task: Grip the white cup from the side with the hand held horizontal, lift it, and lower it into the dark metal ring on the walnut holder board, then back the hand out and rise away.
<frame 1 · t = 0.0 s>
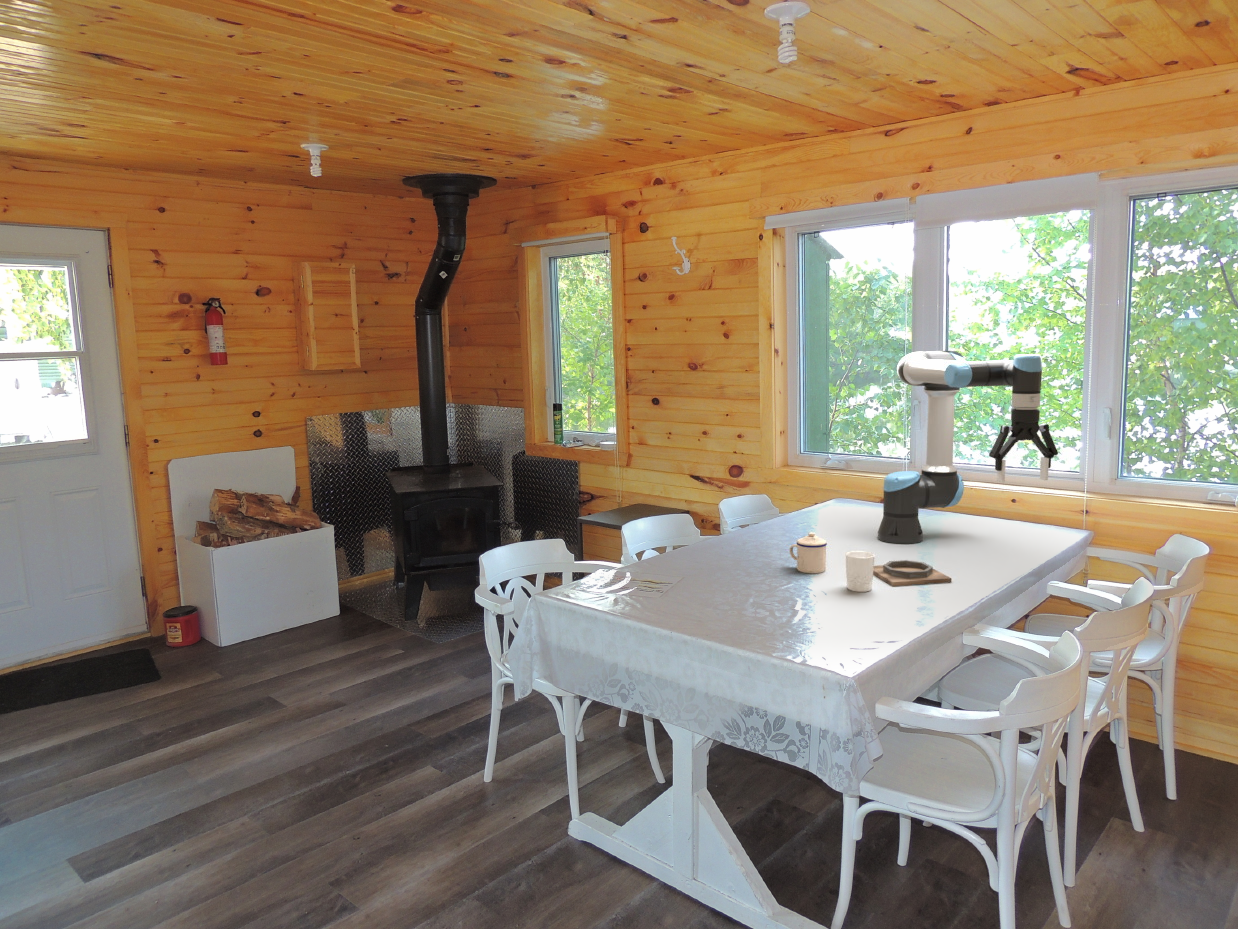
hand: (1022, 480, 260), 28 cm above the table, tool pointing down, fingers open, 13 cm apart
white cup: (859, 589, 253), on the table
ring holder: (907, 575, 265), on the table
teacup with lid: (807, 569, 275), on the table
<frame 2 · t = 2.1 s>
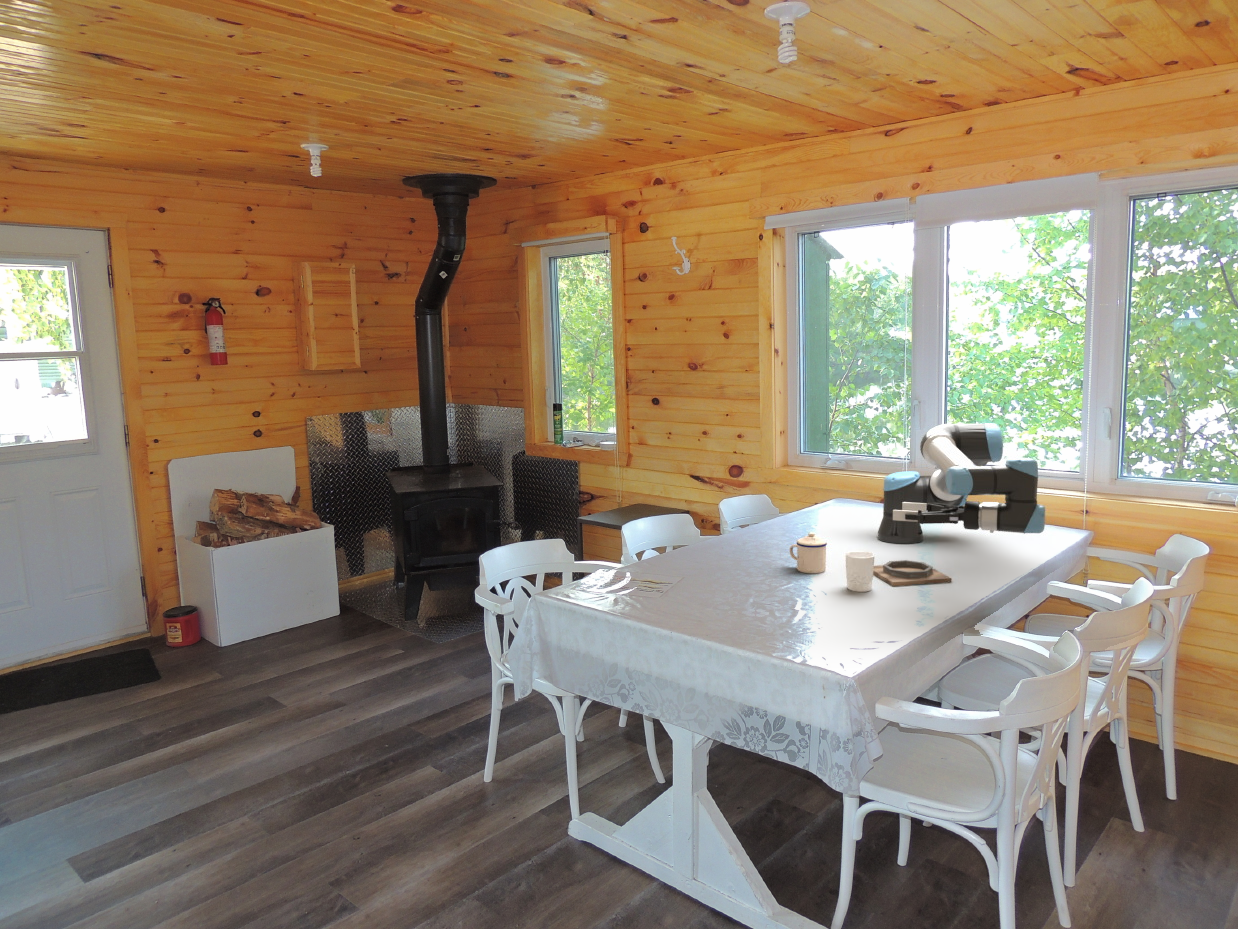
hand: (897, 510, 246), 23 cm above the table, tool horizontal, fingers open, 13 cm apart
nothing on the table moved.
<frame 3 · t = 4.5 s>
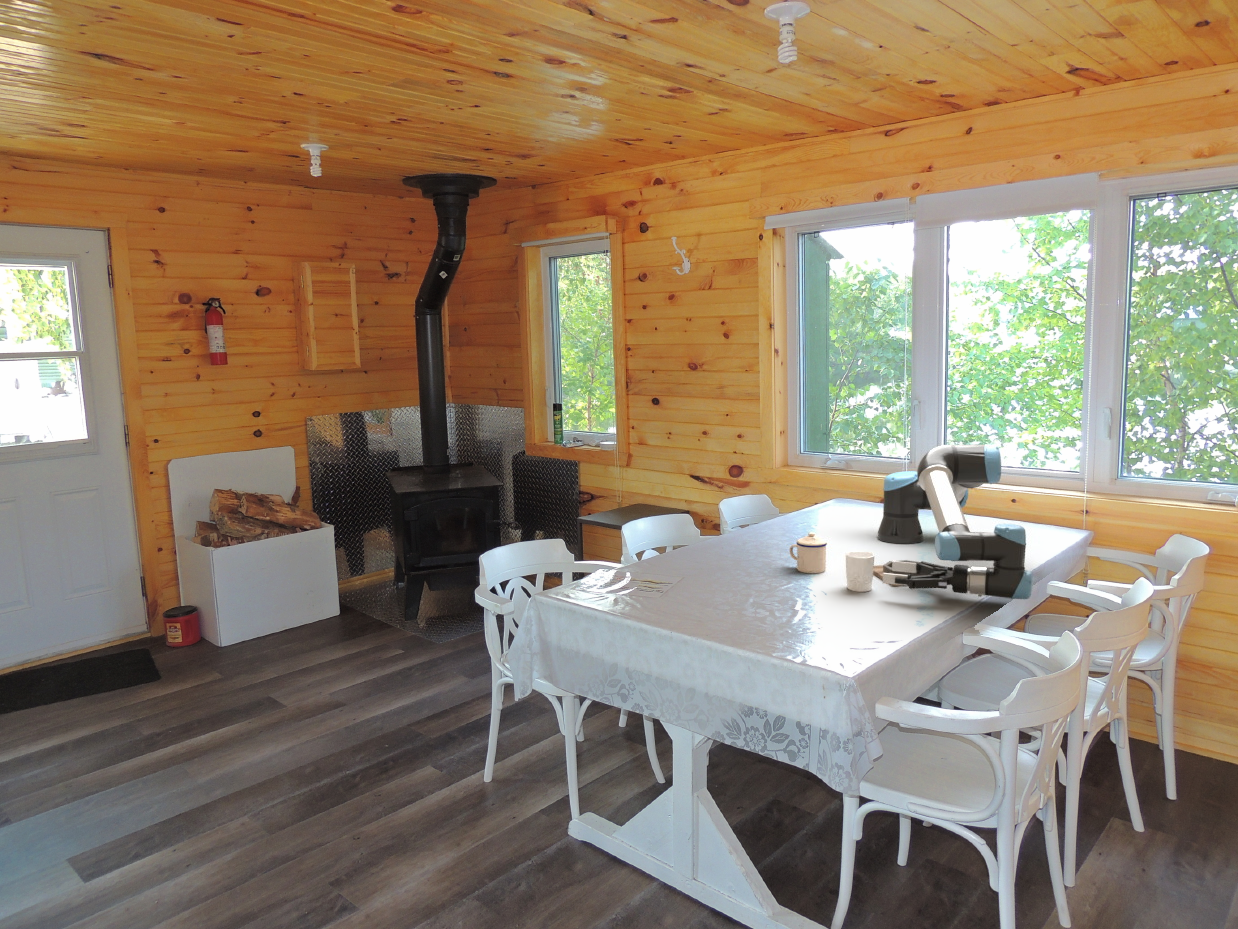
hand: (887, 571, 249), 6 cm above the table, tool horizontal, fingers open, 13 cm apart
nothing on the table moved.
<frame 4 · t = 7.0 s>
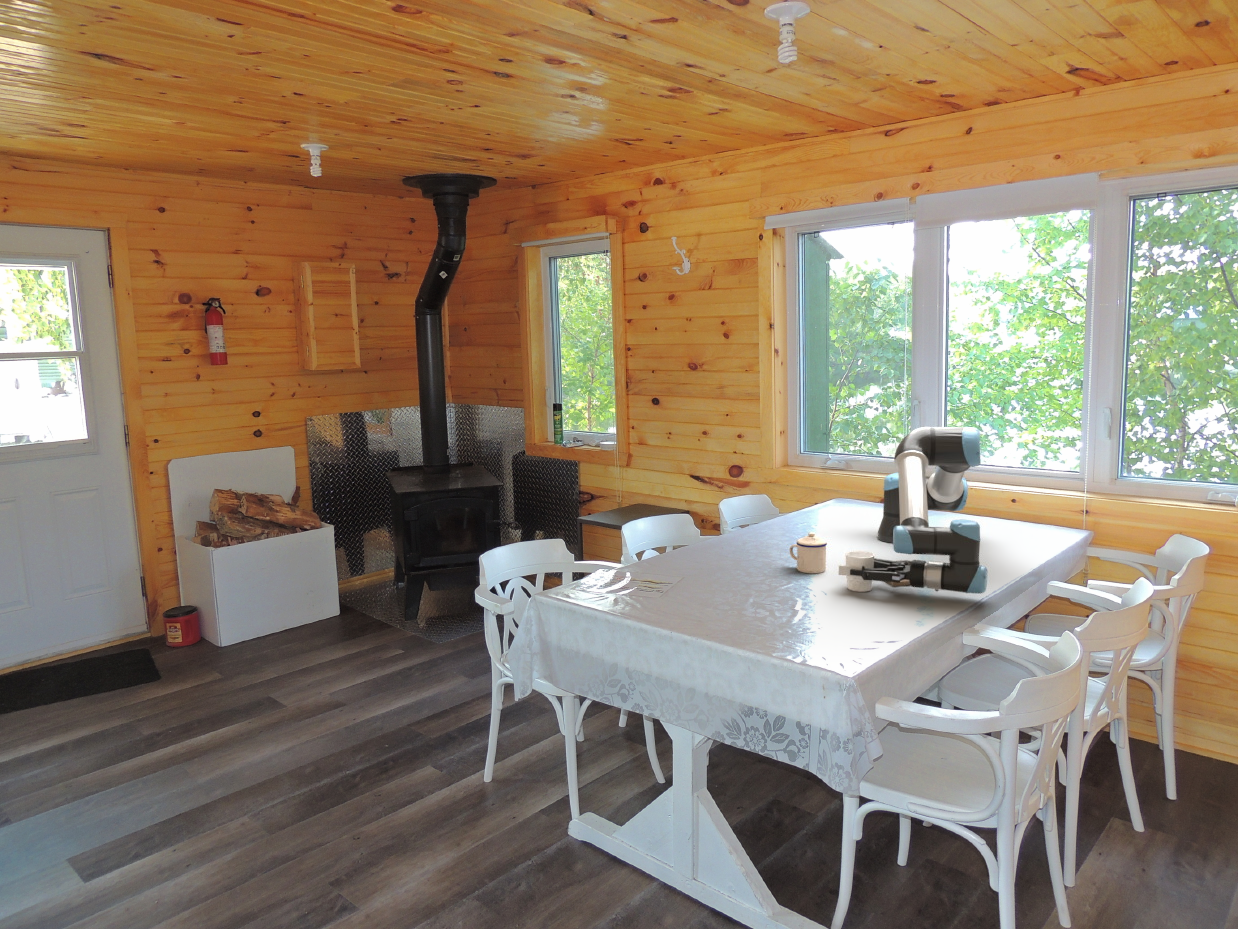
hand: (842, 566, 255), 6 cm above the table, tool horizontal, fingers closed on white cup, 8 cm apart
white cup: (859, 589, 253), on the table, touching gripper
everything else where it was.
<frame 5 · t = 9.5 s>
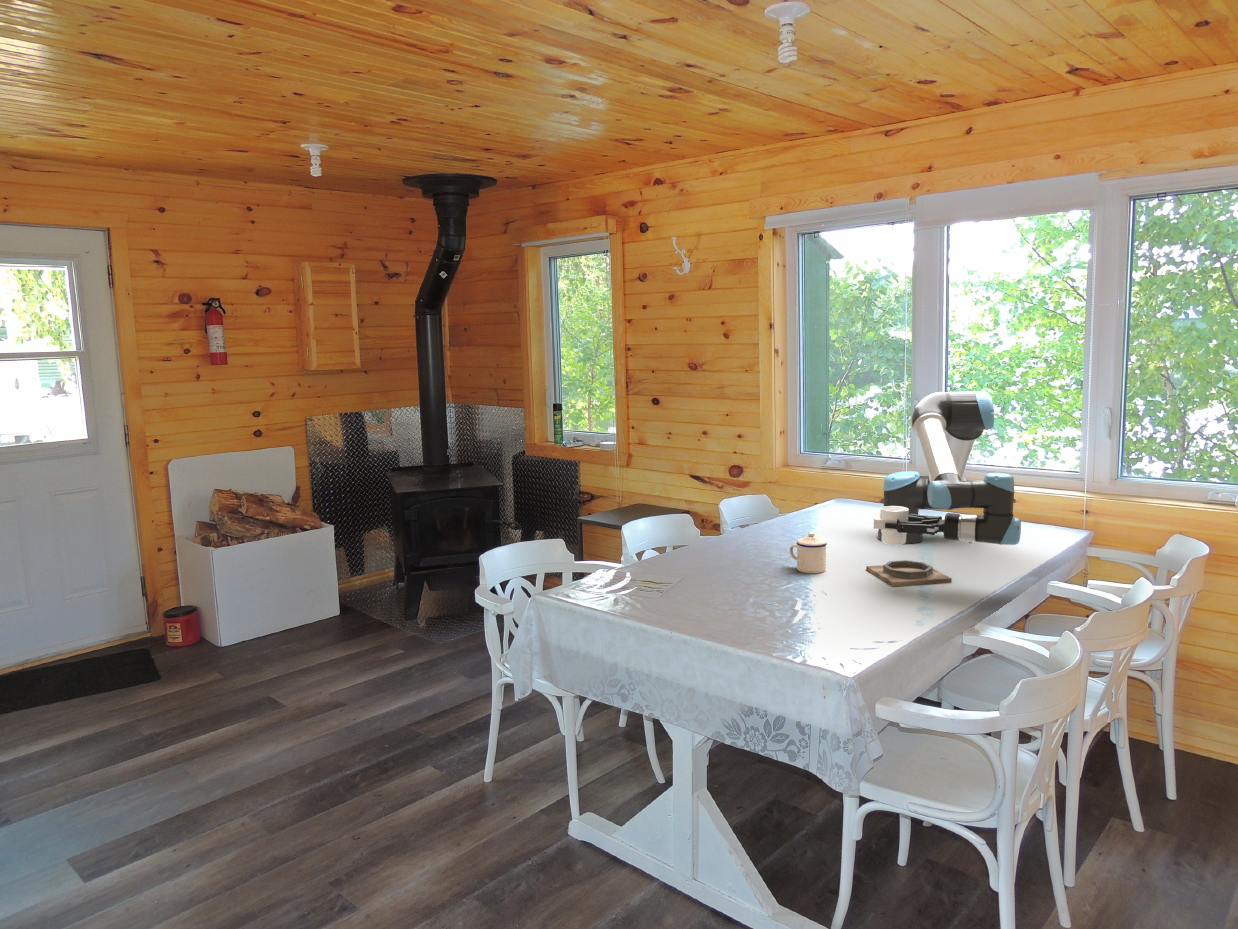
hand: (877, 520, 260), 17 cm above the table, tool horizontal, fingers closed on white cup, 8 cm apart
white cup: (893, 543, 259), point 11 cm above the table, touching gripper
everything else where it was.
when the fingers open (8 cm above the table, at t = 12.2 s): white cup drops 1 cm, resting on ring holder.
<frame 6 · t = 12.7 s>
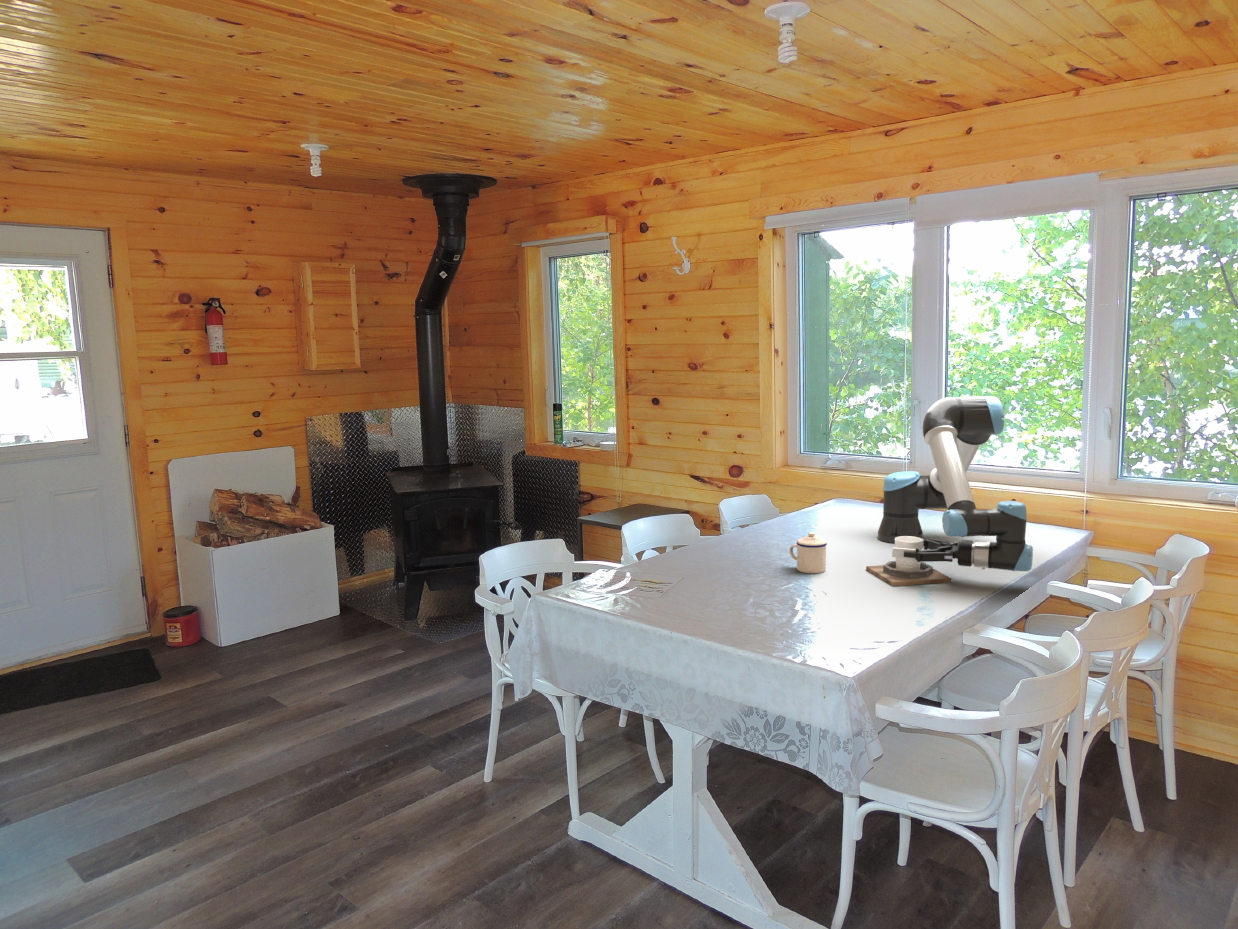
hand: (896, 547, 265), 8 cm above the table, tool horizontal, fingers open, 13 cm apart
white cup: (907, 572, 265), point 1 cm above the table, touching ring holder
everything else where it was.
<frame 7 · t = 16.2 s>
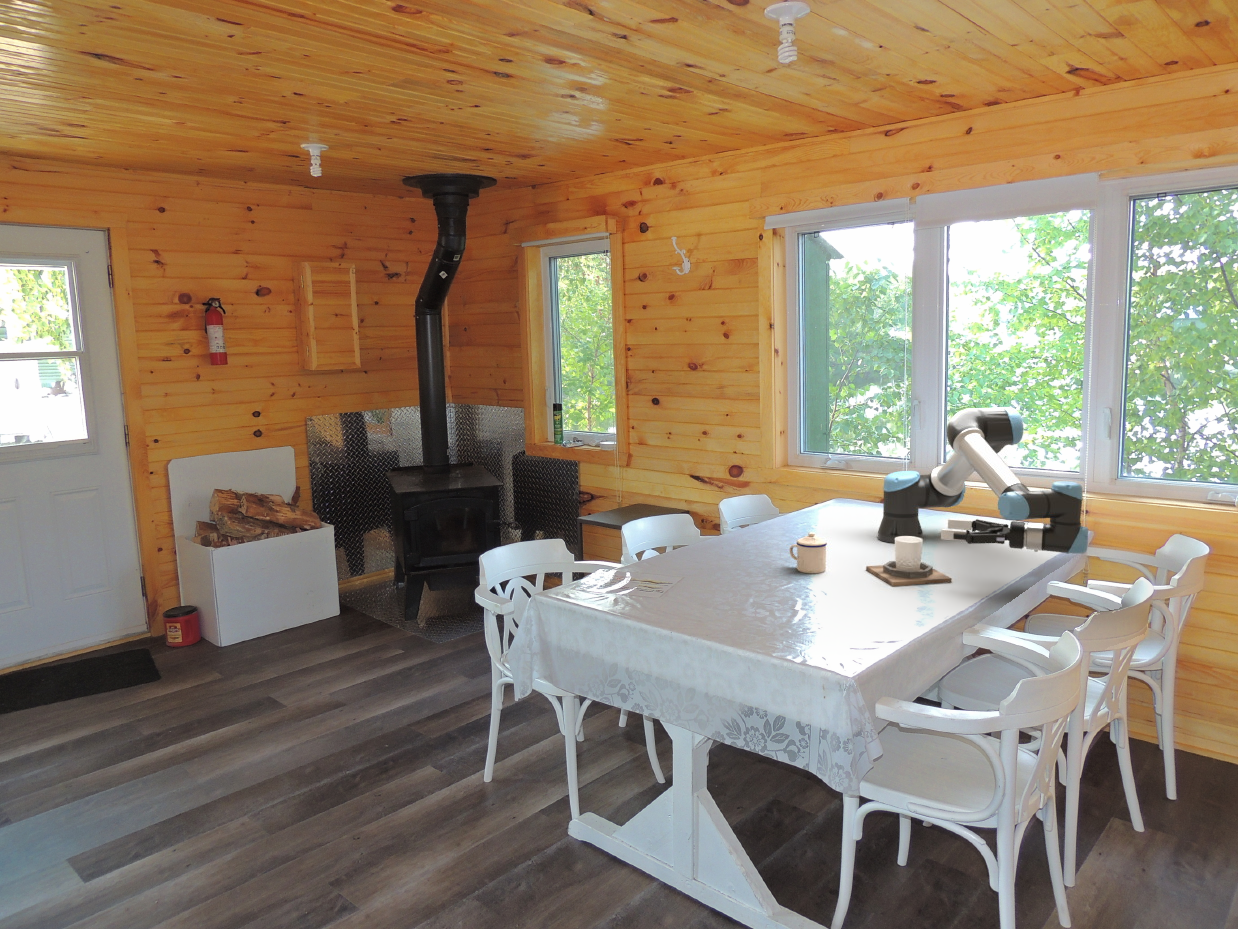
hand: (944, 528, 257), 15 cm above the table, tool horizontal, fingers open, 13 cm apart
nothing on the table moved.
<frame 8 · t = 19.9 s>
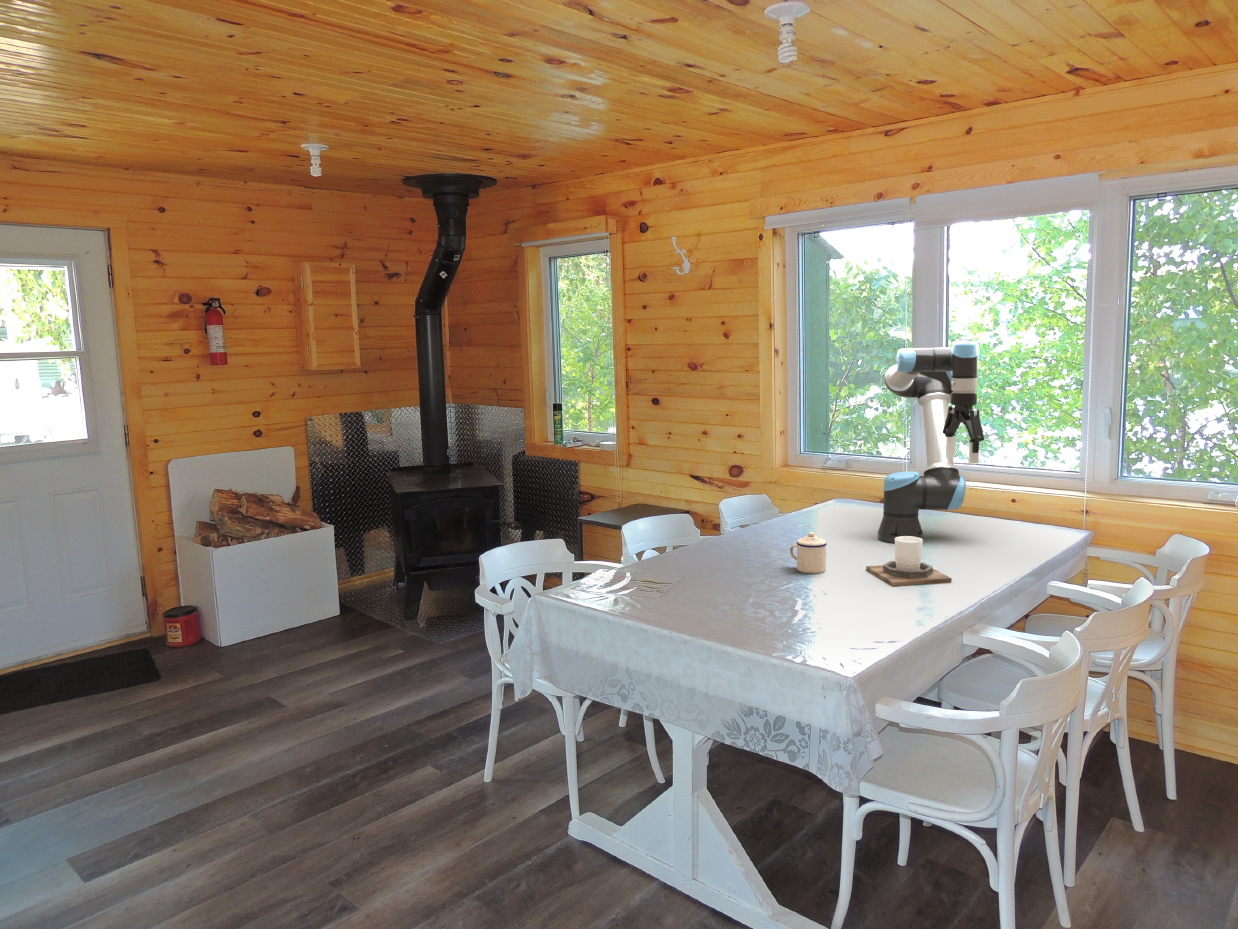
hand: (961, 460, 277), 32 cm above the table, tool pointing down, fingers open, 13 cm apart
nothing on the table moved.
at the end: white cup 0.0 cm off-centre on the ring holder, point 1.0 cm above the ring holder's base; white cup tilted 0°; the gripper is holding nothing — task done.
